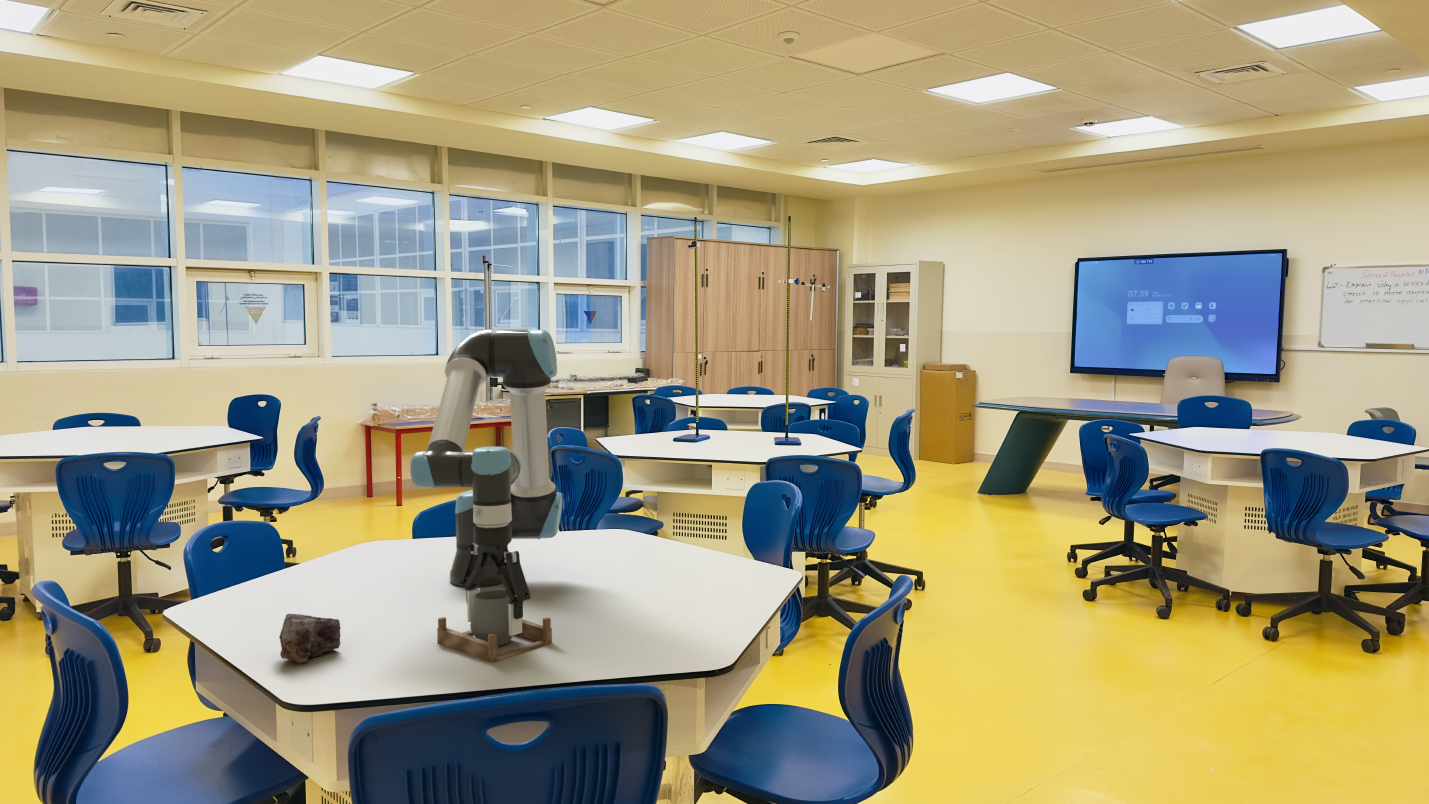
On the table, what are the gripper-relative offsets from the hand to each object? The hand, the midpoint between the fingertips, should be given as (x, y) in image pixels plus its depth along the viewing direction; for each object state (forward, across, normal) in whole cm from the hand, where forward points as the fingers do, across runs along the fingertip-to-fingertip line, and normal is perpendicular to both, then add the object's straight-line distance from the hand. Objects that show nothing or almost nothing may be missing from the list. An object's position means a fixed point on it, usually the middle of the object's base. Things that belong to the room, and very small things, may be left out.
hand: (494, 627), depth 189 cm
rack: (+3, 0, 0) cm, 3 cm away
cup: (+3, 0, 0) cm, 3 cm away
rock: (+4, -22, -28) cm, 36 cm away
